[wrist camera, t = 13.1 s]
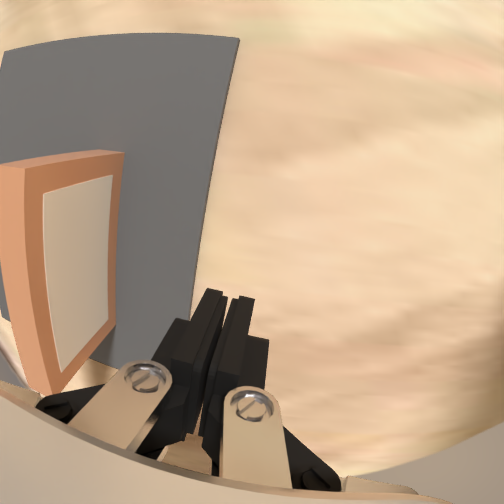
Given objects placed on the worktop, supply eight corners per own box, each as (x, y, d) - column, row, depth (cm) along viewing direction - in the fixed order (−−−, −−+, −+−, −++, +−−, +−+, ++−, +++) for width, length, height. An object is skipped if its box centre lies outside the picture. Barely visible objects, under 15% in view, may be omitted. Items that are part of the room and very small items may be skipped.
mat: (8, 52, 13) (4, 51, 12) (239, 40, 12) (238, 38, 12) (5, 314, 20) (2, 317, 19) (182, 385, 19) (180, 389, 19)
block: (98, 149, 14) (-4, 164, 8) (125, 152, 14) (25, 168, 8) (94, 317, 18) (29, 386, 11) (116, 324, 18) (54, 400, 11)
